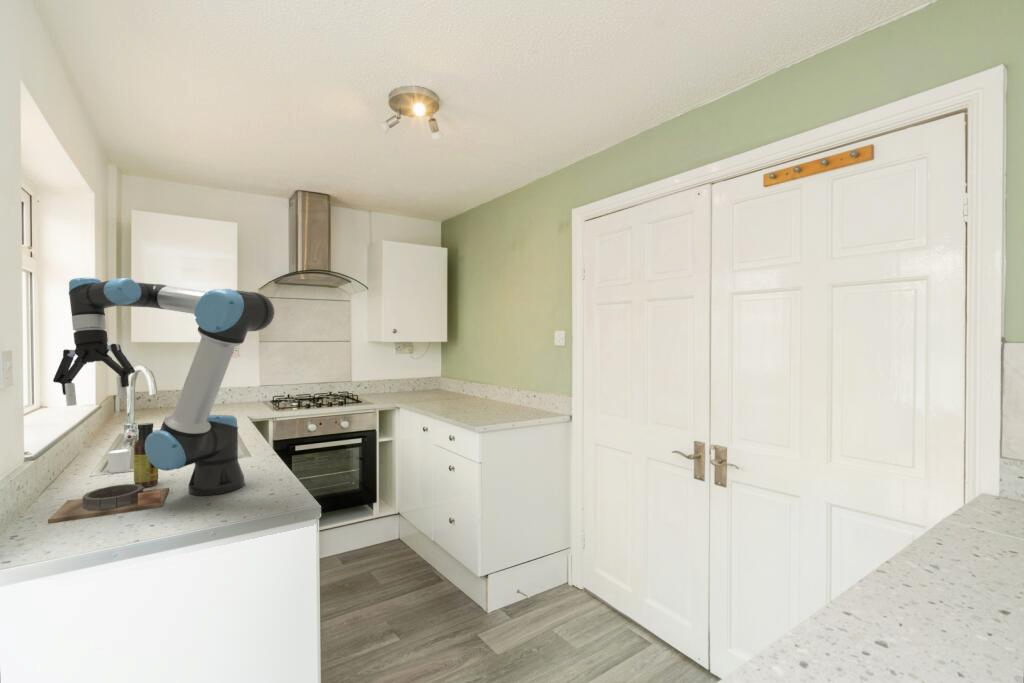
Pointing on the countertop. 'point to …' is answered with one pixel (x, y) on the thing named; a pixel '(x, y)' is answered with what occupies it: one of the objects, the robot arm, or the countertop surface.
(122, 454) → the white cube
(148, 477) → the sauce bottle
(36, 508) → the countertop surface
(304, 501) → the countertop surface
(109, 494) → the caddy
